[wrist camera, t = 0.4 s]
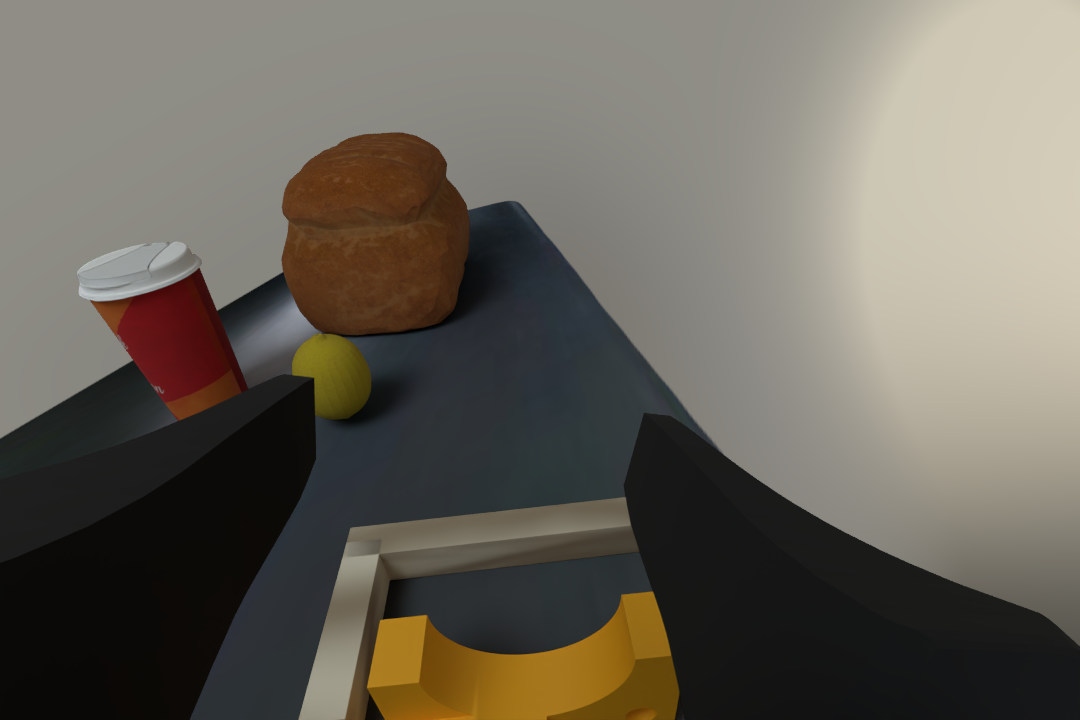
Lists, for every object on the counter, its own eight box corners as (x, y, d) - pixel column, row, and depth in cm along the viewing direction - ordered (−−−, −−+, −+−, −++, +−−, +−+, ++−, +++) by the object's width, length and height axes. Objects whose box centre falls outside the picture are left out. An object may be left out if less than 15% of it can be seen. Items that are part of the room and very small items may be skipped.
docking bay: (754, 694, 24) (764, 667, 22) (316, 748, 23) (297, 724, 22) (685, 517, 32) (689, 490, 30) (362, 554, 31) (350, 527, 30)
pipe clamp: (398, 805, 21) (356, 743, 18) (413, 691, 25) (380, 620, 21) (685, 774, 21) (701, 706, 18) (658, 665, 25) (667, 590, 21)
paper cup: (198, 384, 48) (119, 241, 40) (278, 380, 48) (214, 235, 40) (144, 443, 41) (36, 286, 34) (236, 439, 41) (149, 279, 33)
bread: (294, 345, 53) (226, 178, 43) (353, 261, 70) (314, 129, 61) (463, 333, 52) (432, 161, 43) (479, 252, 70) (460, 117, 61)
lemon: (350, 389, 46) (322, 310, 41) (395, 407, 43) (370, 325, 38) (298, 427, 42) (260, 344, 37) (343, 449, 39) (309, 363, 35)
